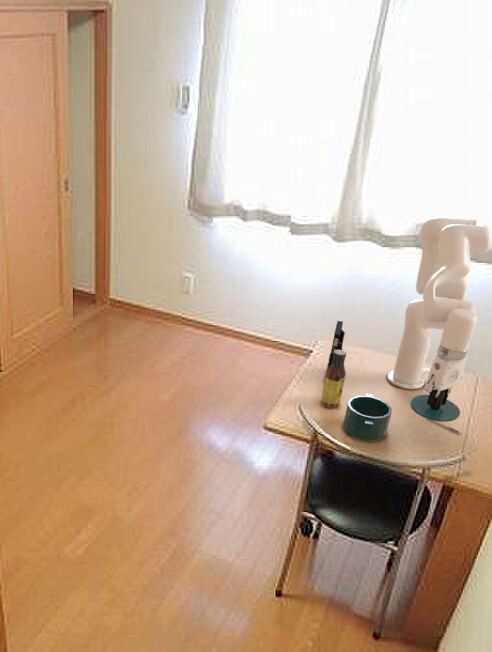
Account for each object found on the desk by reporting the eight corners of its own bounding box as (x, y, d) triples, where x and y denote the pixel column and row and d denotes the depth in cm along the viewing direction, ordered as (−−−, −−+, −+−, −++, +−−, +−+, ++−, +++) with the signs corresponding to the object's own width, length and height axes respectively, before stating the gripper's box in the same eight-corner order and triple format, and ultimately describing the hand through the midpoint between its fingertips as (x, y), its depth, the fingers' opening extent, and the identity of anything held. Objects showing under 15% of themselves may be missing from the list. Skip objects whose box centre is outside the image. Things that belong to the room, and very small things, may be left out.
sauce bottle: (340, 410, 220) (351, 358, 210) (321, 407, 221) (331, 356, 211) (339, 400, 226) (349, 349, 215) (320, 398, 227) (330, 347, 216)
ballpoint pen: (458, 433, 210) (459, 431, 209) (457, 434, 209) (458, 432, 209) (428, 419, 217) (429, 417, 216) (427, 420, 216) (427, 418, 216)
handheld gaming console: (326, 368, 245) (336, 320, 235) (339, 371, 243) (349, 322, 233) (323, 383, 235) (333, 334, 225) (336, 386, 234) (346, 336, 223)
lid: (456, 402, 203) (463, 382, 199) (461, 427, 191) (468, 406, 187) (408, 394, 206) (413, 375, 202) (410, 418, 195) (416, 398, 191)
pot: (385, 418, 216) (390, 395, 212) (385, 450, 201) (392, 426, 196) (344, 411, 219) (348, 388, 215) (341, 442, 204) (347, 418, 199)
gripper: (443, 363, 182) (426, 417, 191) (482, 350, 188) (464, 404, 198) (421, 351, 187) (406, 405, 197) (460, 340, 194) (444, 392, 204)
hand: (435, 404), depth 197 cm, fingers closed on lid, 3 cm apart
